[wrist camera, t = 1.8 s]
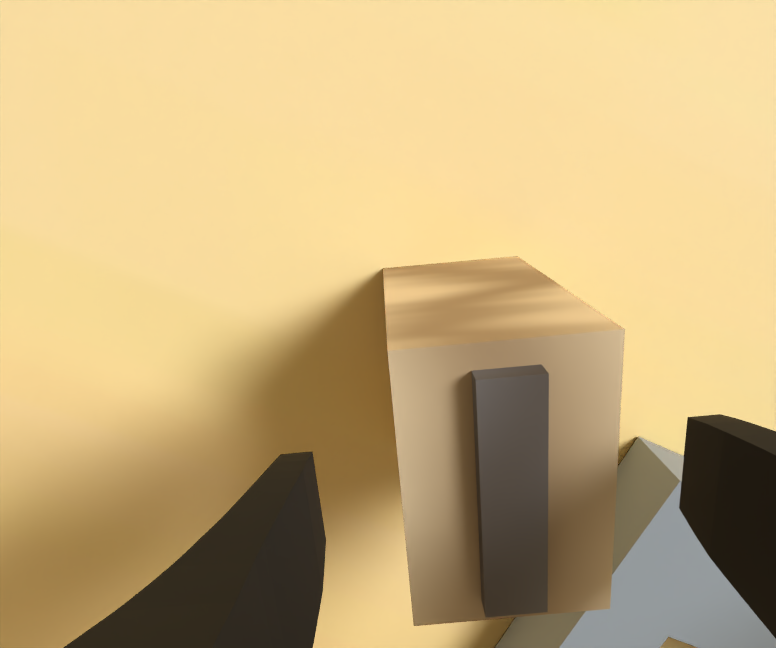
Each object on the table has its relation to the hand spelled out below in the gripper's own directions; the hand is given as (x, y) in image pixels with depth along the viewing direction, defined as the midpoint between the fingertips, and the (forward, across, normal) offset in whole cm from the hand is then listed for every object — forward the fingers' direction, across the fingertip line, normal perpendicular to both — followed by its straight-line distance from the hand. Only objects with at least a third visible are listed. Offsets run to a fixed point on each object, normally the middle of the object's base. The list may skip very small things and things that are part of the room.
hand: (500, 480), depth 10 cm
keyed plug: (+7, 0, 0) cm, 7 cm away
